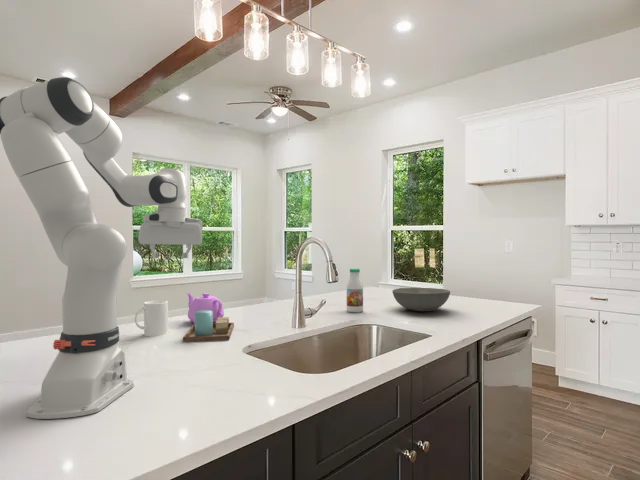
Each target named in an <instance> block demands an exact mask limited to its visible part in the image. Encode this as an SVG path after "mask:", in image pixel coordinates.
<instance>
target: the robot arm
mask: <svg viewBox="0 0 640 480" xmlns="http://www.w3.org/2000/svg"><path fill="white" fill-rule="evenodd" d="M63 133H65V134H66V135H67V136H68V137H69V138H70V139H71V140H72V141H73V142H74V143H75V144H76V145H77V146H78V147H79V148H80V149H81V150H82V153H83V156H84V158H85V160H86V161H87V162H88V164H89V165H90V166H91V168H93V169H94V171H95V172H96V173H97V174H98V175H99V177H100V178H101V179H102V180H103V181H104V182H105V183H106V184H107V185H108V186H109V188H110V189H111V191H112V192H113V195H114V196H115V198H116V199H117V201H118V202H119V203H120V204H121V205H122V206H123V207H127V208H132V207H139V206H140V207H142V206H143V207H144V206H146V207H148V206H157V211H156V212H155V211H154V212H151V213H148V214H145V215H143V217H142V221H143V223H141V224H140V228H139V232H138V240H137V241H138V243H139V244H140V245H149V249H150V251H151V252H152V254H153V255H152V258H153V259H159V252H156V250H155V248H156V245H179V246H180V245H183V246H185V248H186V251H185V252H182V258H183V259H188V258H189V253H190V251H191V250H192V246H193V245H194V246H195V245H196V246H199V245H201V244H202V243H203V234H202V230H203V228H204V226H203V225H204V224H203V222H202V220H201V219H199V218H192V217H191V218H190V217H186V205H185V200H186V197H187V194H186V193H187V187H186V177H185V175H184V173H183V172H182V171H181V170H179V169H177V168H173V167H163V168H161V169H160V171H158V172H155V173H153V174H152V173H151V174H146V175H144V174H143V175H134V174H133V175H132V174H129V173H125V171H124V170H123V169H122V168H121V167H120V165H119V164H118V163H117V162H116V161H115V159H114V157H115V156H116V155H117V154H118V153H119V151H120V149H121V147H122V145H123V133H122V132H121V129H120V128H119V126H118V124H117V123H115V122H114V120H113V119H112V118H111V117H110V116H109V115H108V114H107V113H106V112H105V111H104V110H103V109H102V108H101V107H100V106H99V104H98V103H95V102H94V101H93V98H92V96H91V94H90V92H89V91H88V90H87V88H85V86H84V85H83V84H81V83H80V82H78V81H76V80H75V79H73V78H70V77H67V76H62V77H55V78H51V79H49V81H44V82H41V83H37V84H33V85H31V86H25V87H23V88H21V89H18V90H17V91H15V92H12V93H11V94H10V95H9V94H8V96H2V97H1V98H0V141H1V143H2V147H3V149H4V151H5V154H6V157H7V159H8V161H9V165H10V166H11V168H12V170H13V172H14V174H15V175H16V177H17V179H18V181H19V183H20V185H21V186H22V188H23V189H24V192H25V193H26V195H27V196H28V198H29V200H30V202H31V203H32V205H33V207H34V208H35V211H36V213H37V214H38V216H39V218H40V221H41V223H42V226H43V229H44V231H45V234H46V235H47V237H48V239H49V241H50V242H49V243H50V244H51V246H52V248H53V251H54V252H55V254H56V257H57V258H58V260H59V261H60V262H61V263H62V264H63V265H65V266H66V267H67V271H66V272H67V274H66V280H65V287H64V292H63V296H62V299H61V300H62V301H61V302H62V303H61V304H62V332H61V333H60V337H59V338H58V339H55V340H54V341H53V343H52V347H53V350H58V353H57V355H56V357H55V359H54V361H53V362H52V364H51V365H50V368H49V369H48V371H47V373H46V374H45V377H44V378H43V379H42V382H41V389H40V396H39V397H38V398H37V400H35V402H34V403H33V404H32V405H31V406H30V407H29V408H28V410H27V411H26V417H27V418H31V419H38V420H39V419H42V420H43V419H46V420H48V419H49V420H50V419H52V420H53V419H64V418H66V419H67V418H74V417H75V418H76V417H81V416H86V415H87V416H88V415H91V414H95V413H98V412H100V411H103V410H104V408H106V407H107V406H109V405H110V404H111V403H112V402H114V401H115V400H117V399H118V398H119V397H121V396H122V395H124V394H125V393H126V392H127V391H129V390H131V389H132V388H133V387H134V386H135V383H134V381H133V380H131V379H128V369H127V358H126V352H125V350H123V348H121V346H120V344H119V341H120V329H119V326H118V323H117V321H118V320H117V316H118V315H117V311H118V309H117V295H118V294H117V293H118V288H119V282H120V276H121V269H122V264H123V261H124V259H125V258H126V255H127V242H126V239H125V238H124V236H123V235H122V234H121V233H120V232H119V231H118V230H116V229H115V228H113V227H112V226H109V225H106V224H103V223H99V222H98V220H97V218H96V215H95V211H94V209H93V206H92V205H93V204H92V201H91V193H90V190H89V189H88V187H87V185H86V184H85V182H84V179H83V178H82V176H81V174H80V172H79V170H78V169H77V166H76V164H75V162H74V161H73V159H72V157H71V154H70V153H69V152H68V150H67V148H66V147H65V145H64V143H63V142H62V140H61V139H60V138H59V135H61V134H63Z"/></svg>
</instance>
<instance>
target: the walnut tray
mask: <svg viewBox="0 0 640 480" xmlns="http://www.w3.org/2000/svg"><path fill="white" fill-rule="evenodd" d="M234 327H235V322H229V330H228V333H223V334H216V322H213V336H195V324H194V323H192V325H191V327H190V328H189V330H187V332H186V333H185V335H184V336H183V337H182V343H194V342H219V341H222V342H223V341H230V339H231V336H232V333H233V330H234Z"/></svg>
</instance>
